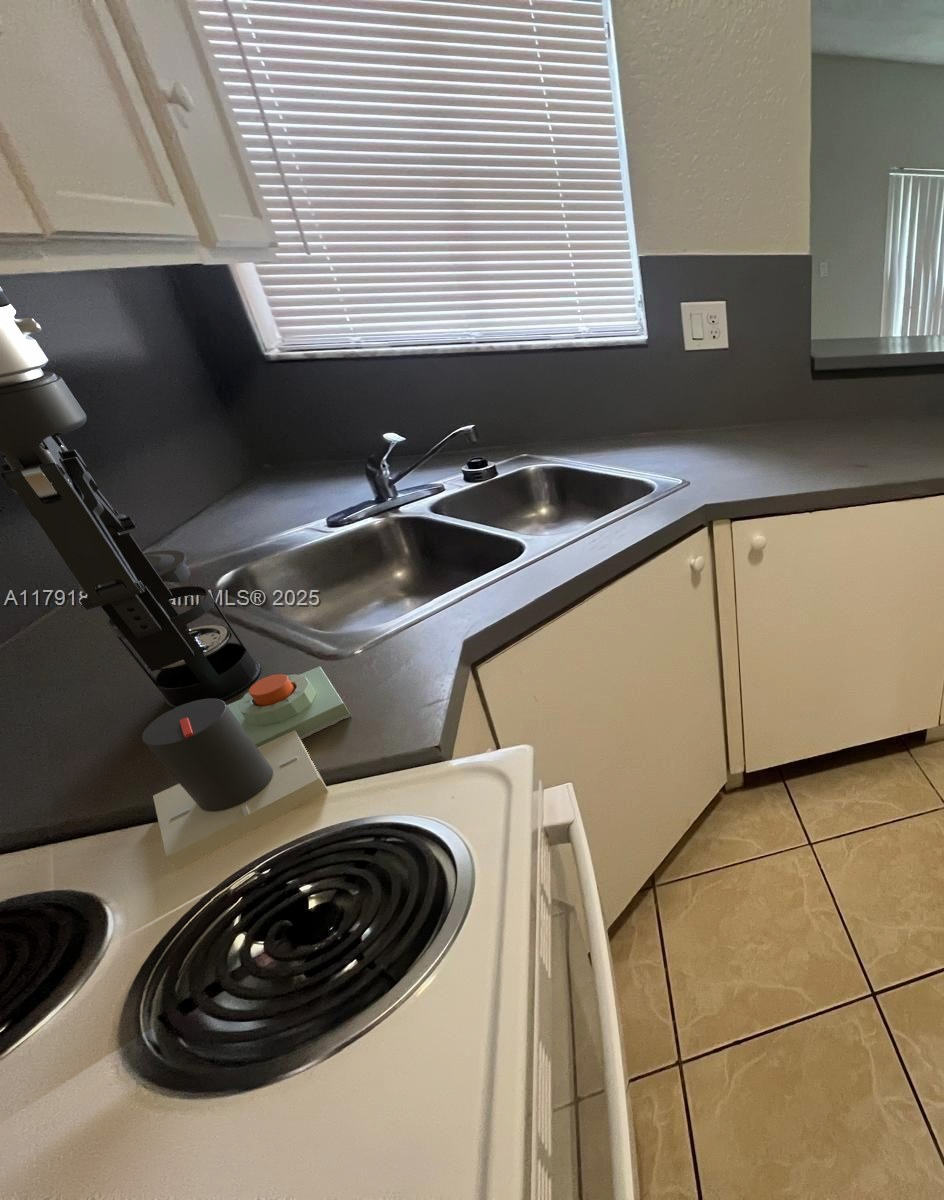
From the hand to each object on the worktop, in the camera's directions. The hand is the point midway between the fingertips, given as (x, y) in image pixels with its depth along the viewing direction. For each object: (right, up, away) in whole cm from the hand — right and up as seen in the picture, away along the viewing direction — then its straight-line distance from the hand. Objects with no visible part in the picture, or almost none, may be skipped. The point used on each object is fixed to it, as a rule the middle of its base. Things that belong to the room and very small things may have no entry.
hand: (162, 629), depth 55 cm
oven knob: (0, -16, +7) cm, 18 cm away
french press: (-18, -8, +24) cm, 31 cm away
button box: (-4, -11, +18) cm, 22 cm away
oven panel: (0, -18, +8) cm, 20 cm away
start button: (-4, -8, +16) cm, 19 cm away
